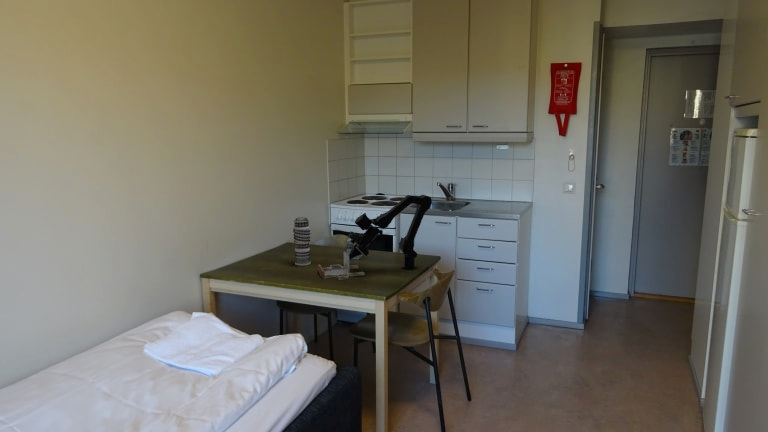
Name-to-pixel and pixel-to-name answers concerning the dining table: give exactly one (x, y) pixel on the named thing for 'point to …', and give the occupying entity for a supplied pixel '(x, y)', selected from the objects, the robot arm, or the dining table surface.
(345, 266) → the bookend
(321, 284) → the dining table surface
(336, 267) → the trap lane
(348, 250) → the light bulb box
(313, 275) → the dining table surface
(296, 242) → the decorative candle
